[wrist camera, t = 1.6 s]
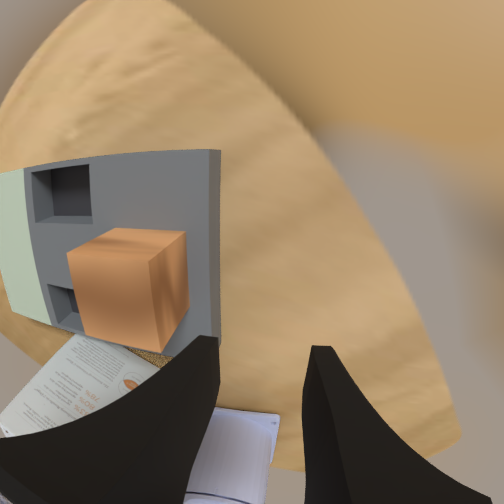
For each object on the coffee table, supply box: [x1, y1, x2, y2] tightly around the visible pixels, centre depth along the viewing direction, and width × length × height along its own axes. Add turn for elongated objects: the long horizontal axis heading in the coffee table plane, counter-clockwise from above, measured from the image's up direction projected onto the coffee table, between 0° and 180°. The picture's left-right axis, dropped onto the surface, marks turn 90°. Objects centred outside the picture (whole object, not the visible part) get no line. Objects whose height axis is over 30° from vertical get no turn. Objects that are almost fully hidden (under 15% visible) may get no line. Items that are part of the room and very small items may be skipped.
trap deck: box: [0, 149, 221, 357], centre depth 18 cm, size 13×21×2 cm, turn 88°
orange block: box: [67, 228, 190, 353], centre depth 14 cm, size 4×4×4 cm
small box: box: [0, 334, 160, 437], centre depth 16 cm, size 8×6×13 cm
